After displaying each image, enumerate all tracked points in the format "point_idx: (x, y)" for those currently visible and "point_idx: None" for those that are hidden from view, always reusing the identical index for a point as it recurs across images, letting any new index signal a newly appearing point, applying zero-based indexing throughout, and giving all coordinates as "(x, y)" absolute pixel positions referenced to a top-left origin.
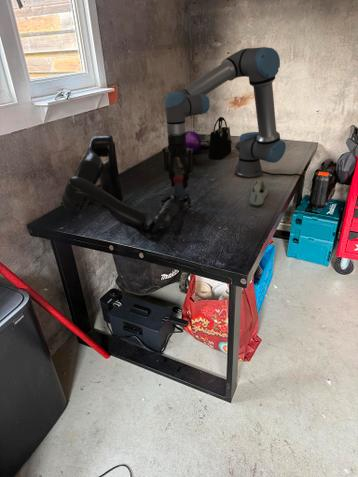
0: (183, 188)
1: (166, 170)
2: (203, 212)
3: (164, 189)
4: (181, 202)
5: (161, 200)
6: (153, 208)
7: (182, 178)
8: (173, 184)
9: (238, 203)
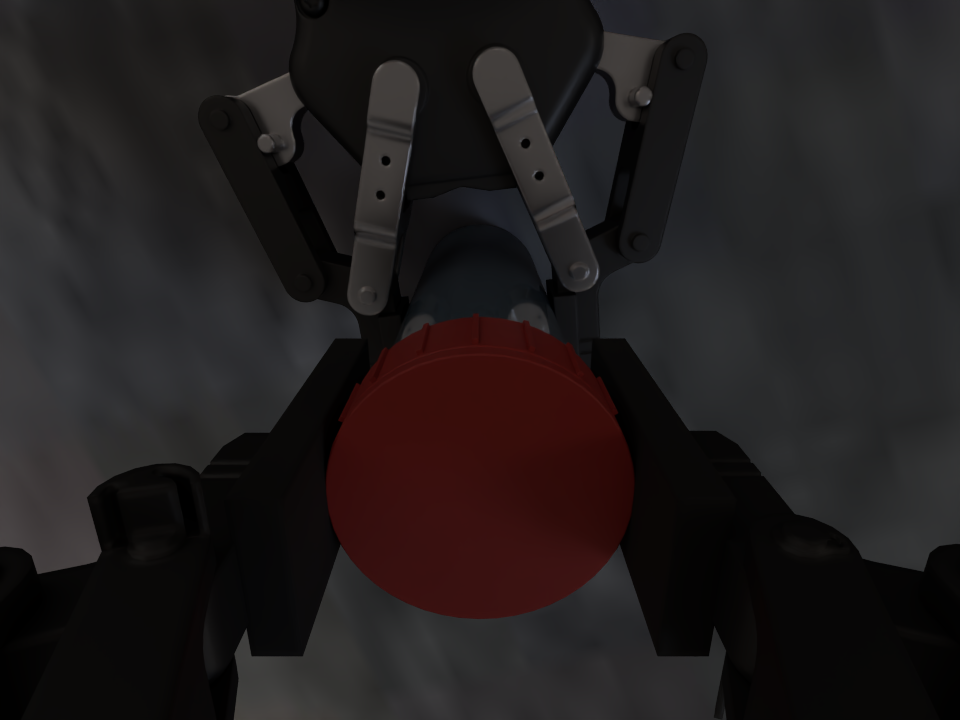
0: None
1: (935, 555)
2: (215, 284)
3: None
4: (335, 68)
5: (696, 40)
6: (803, 221)
7: (344, 429)
8: None
9: None
